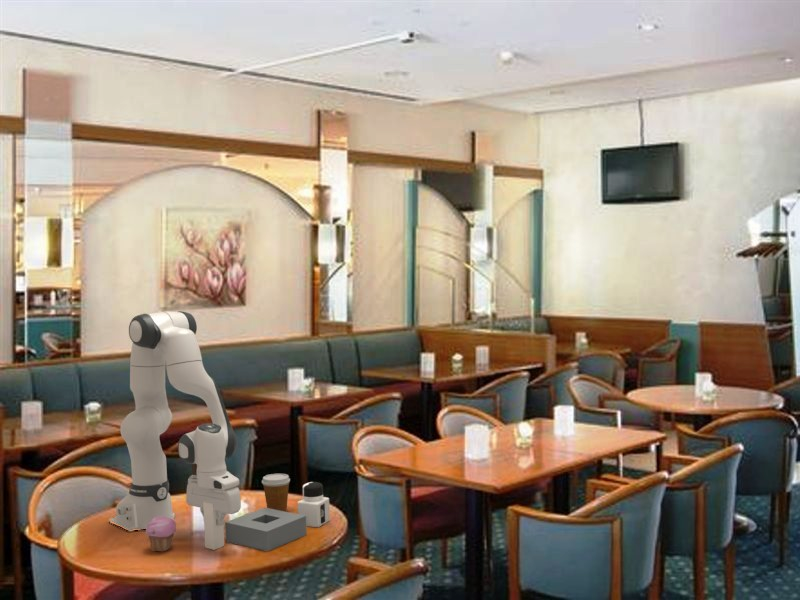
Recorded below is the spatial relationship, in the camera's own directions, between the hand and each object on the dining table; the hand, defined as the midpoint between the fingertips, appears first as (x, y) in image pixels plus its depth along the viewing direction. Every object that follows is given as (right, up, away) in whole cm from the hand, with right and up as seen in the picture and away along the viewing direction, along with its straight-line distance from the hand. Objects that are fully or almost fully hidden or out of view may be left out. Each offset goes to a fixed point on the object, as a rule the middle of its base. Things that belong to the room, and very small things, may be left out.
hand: (213, 523), depth 273 cm
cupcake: (-15, -8, -1) cm, 17 cm away
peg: (0, -7, 0) cm, 7 cm away
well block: (+15, -6, +7) cm, 18 cm away
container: (+28, -5, +21) cm, 36 cm away
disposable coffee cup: (+14, -5, +34) cm, 38 cm away
